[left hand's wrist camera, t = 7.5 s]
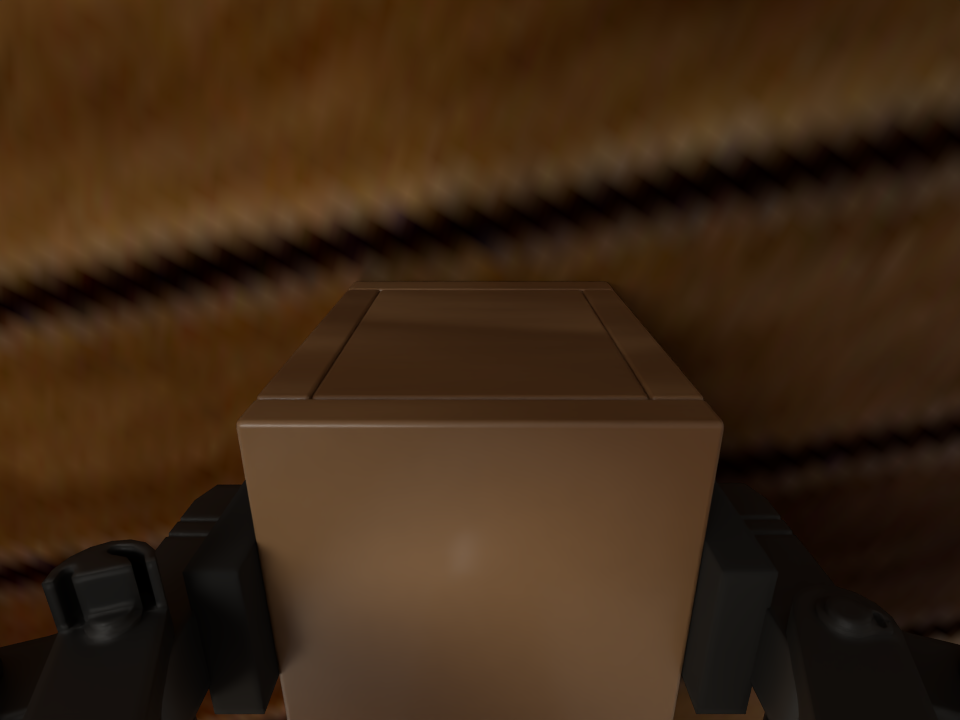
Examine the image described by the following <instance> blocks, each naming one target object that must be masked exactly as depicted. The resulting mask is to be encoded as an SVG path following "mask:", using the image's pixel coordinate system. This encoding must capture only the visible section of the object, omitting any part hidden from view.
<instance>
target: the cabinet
mask: <svg viewBox="0 0 960 720" xmlns="http://www.w3.org/2000/svg"><path fill="white" fill-rule="evenodd" d="M703 400H704V399H703V396H702V395H701V394H700V393H699V391H698V390H697V389H696V388H695V387H694V386H693V384H692V383H691V382H690V381H689V380H688V378H687V377H686V376H685V375H684V374H683V372H682V371H681V370H680V369H679V368H678V366H677V365H676V364H675V363H674V362H673V360H672V359H671V358H670V357H669V356H668V355H667V353H666V352H665V351H664V350H663V349H662V347H661V346H660V345H659V344H658V343H657V341H656V340H655V339H654V338H653V337H652V335H651V334H650V333H649V332H648V331H647V330H646V328H645V327H644V326H643V325H642V324H641V322H640V321H639V320H638V319H637V318H636V316H635V315H634V314H633V313H632V312H631V310H630V309H629V308H628V307H627V306H626V304H625V303H624V302H623V301H622V300H621V299H620V297H619V296H618V295H617V294H616V293H615V291H614V290H613V288H612V287H611V286H610V285H609V284H608V283H607V282H354V284H353V285H352V286H351V287H350V288H349V290H348V291H347V292H346V293H345V294H344V296H343V297H342V298H341V299H340V300H339V301H338V303H337V304H336V305H335V306H334V307H333V309H332V310H331V311H330V312H329V313H328V314H327V316H326V317H325V318H324V319H323V320H322V321H321V323H320V324H319V325H318V326H317V327H316V328H315V330H314V331H313V332H312V333H311V334H310V335H309V337H308V338H307V339H306V340H305V341H304V342H303V344H302V345H301V346H300V347H299V348H298V349H297V351H296V352H295V353H294V354H293V355H292V357H291V358H290V359H289V360H288V361H287V362H286V364H285V365H284V366H283V367H282V368H281V369H280V371H279V372H278V373H277V374H276V375H275V376H274V378H273V379H272V380H271V381H270V382H269V383H268V385H267V386H266V387H265V388H264V389H263V390H262V392H261V393H260V394H259V395H258V397H257V400H256V401H254V402H253V403H252V405H251V406H250V407H249V408H248V409H247V410H246V412H245V413H244V414H243V415H242V416H241V417H240V419H239V420H238V422H237V425H236V426H237V433H238V439H239V444H240V450H241V456H242V462H243V467H244V473H245V479H246V485H247V490H248V496H249V502H250V508H251V513H252V519H253V525H254V531H255V536H256V542H257V548H258V554H259V559H260V565H261V571H262V577H263V582H264V588H265V594H266V600H267V605H268V611H269V617H270V623H271V628H272V634H273V640H274V646H275V651H276V657H277V663H278V669H279V674H280V680H281V686H282V692H283V697H284V703H285V709H286V715H287V720H673V718H674V712H675V707H676V701H677V695H678V689H679V684H680V678H681V672H682V666H683V661H684V655H685V649H686V643H687V638H688V632H689V626H690V620H691V615H692V609H693V603H694V597H695V592H696V586H697V580H698V574H699V569H700V563H701V557H702V551H703V546H704V540H705V534H706V528H707V523H708V517H709V511H710V505H711V500H712V494H713V488H714V483H715V477H716V471H717V465H718V460H719V454H720V448H721V442H722V437H723V431H724V424H723V421H722V420H721V419H720V417H719V416H718V415H717V414H716V413H715V411H714V410H713V409H712V408H711V407H710V405H709V404H708V403H707V402H706V401H703Z"/></svg>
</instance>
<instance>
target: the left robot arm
mask: <svg viewBox="0 0 960 720" xmlns="http://www.w3.org/2000/svg"><path fill="white" fill-rule="evenodd" d="M42 586H43V589H44V592H45V595H46V598H47V601H48V604H49V607H50V610H51V612H52V615H53V618H54V621H55V624H56V627H57V630H58V633H57V634H54V635H50V636H47V637H43V638H38V639H34V640H30V641H25V642H21V643H17V644H13V645H8V646H4V647H0V720H197V718H196V713H197V711H198V709H199V707H200V705H201V703H202V701H203V699H204V697H205V695H206V693H207V691H208V689H209V690H210V694H211V698H212V703H213V707H214V711H215V714H265V711H266V708H267V706H268V703H269V700H270V698H271V695H272V692H273V690H274V687H275V684H276V681H277V679H278V676H279V669H278V663H277V657H276V651H275V646H274V640H273V634H272V628H271V623H270V617H269V611H268V605H267V600H266V594H265V588H264V582H263V577H262V571H261V565H260V559H259V554H258V548H257V542H256V536H255V531H254V525H253V519H252V513H251V508H250V502H249V496H248V490H247V485H246V480H245V481H244V483H243V484H242V485H217V486H215V487H214V488H212V489H211V490H209V491H208V492H206V493H205V494H203V495H202V496H200V497H199V498H197V499H196V500H195V501H194V502H193V503H192V505H191V506H190V507H189V508H188V510H187V511H186V512H185V513H184V515H183V516H182V517H181V521H180V522H177V524H176V525H175V526H174V527H173V529H172V530H171V531H170V533H169V537H166V538H165V539H164V540H163V541H162V543H161V544H160V545H159V547H158V548H157V549H156V550H154V549H153V548H152V547H151V546H149V545H148V544H147V543H146V542H141V541H136V540H120V541H111V542H107V543H104V544H100V545H97V546H93V547H90V548H88V549H86V550H84V551H81V552H79V553H77V554H75V555H73V556H71V557H69V558H68V559H66V560H65V561H64V562H62V563H61V564H60V565H58V566H57V567H56V568H54V569H53V570H52V571H51V572H50V574H49V575H48V576H47V577H46V579H45V580H44V581H43V583H42ZM681 674H682V677H683V680H684V682H685V685H686V688H687V690H688V693H689V696H690V698H691V701H692V704H693V706H694V709H695V712H696V714H746V710H747V706H748V701H749V697H750V693H751V688H752V686H753V689H754V691H755V693H756V695H757V697H758V699H759V701H760V703H761V705H762V707H763V709H764V711H765V714H764V718H763V720H960V645H958V644H954V643H950V642H946V641H941V640H937V639H933V638H928V637H924V636H920V635H916V634H912V633H908V632H905V631H902V630H900V628H899V627H898V625H897V624H896V622H895V621H894V619H893V618H892V617H891V616H890V615H889V614H888V613H887V612H885V611H884V610H883V609H882V608H881V607H879V606H878V605H877V604H876V603H874V602H872V601H870V600H869V599H867V598H865V597H863V596H861V595H859V594H857V593H855V592H852V591H849V590H846V589H843V588H840V587H837V586H835V585H834V583H833V582H832V581H831V580H830V578H829V577H828V576H827V575H826V573H825V572H824V571H823V569H822V568H821V567H820V566H819V564H818V563H817V562H816V561H815V559H814V558H813V557H812V556H811V554H810V553H809V552H808V551H807V549H806V548H805V547H804V545H803V544H802V543H801V542H800V540H799V539H798V538H797V537H796V535H793V534H792V530H791V529H790V528H789V526H788V525H787V524H786V523H785V521H784V520H781V519H780V515H779V514H778V513H777V511H776V510H775V509H774V508H773V506H772V505H771V504H770V502H769V501H768V500H767V499H766V498H765V497H763V496H762V495H761V494H759V493H758V492H756V491H755V490H753V489H752V488H750V487H749V486H747V485H746V484H744V483H717V481H716V480H715V483H714V488H713V494H712V500H711V505H710V511H709V517H708V523H707V528H706V534H705V540H704V546H703V551H702V557H701V563H700V569H699V574H698V580H697V586H696V592H695V597H694V603H693V609H692V615H691V620H690V626H689V632H688V638H687V643H686V649H685V655H684V661H683V666H682V672H681Z"/></svg>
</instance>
